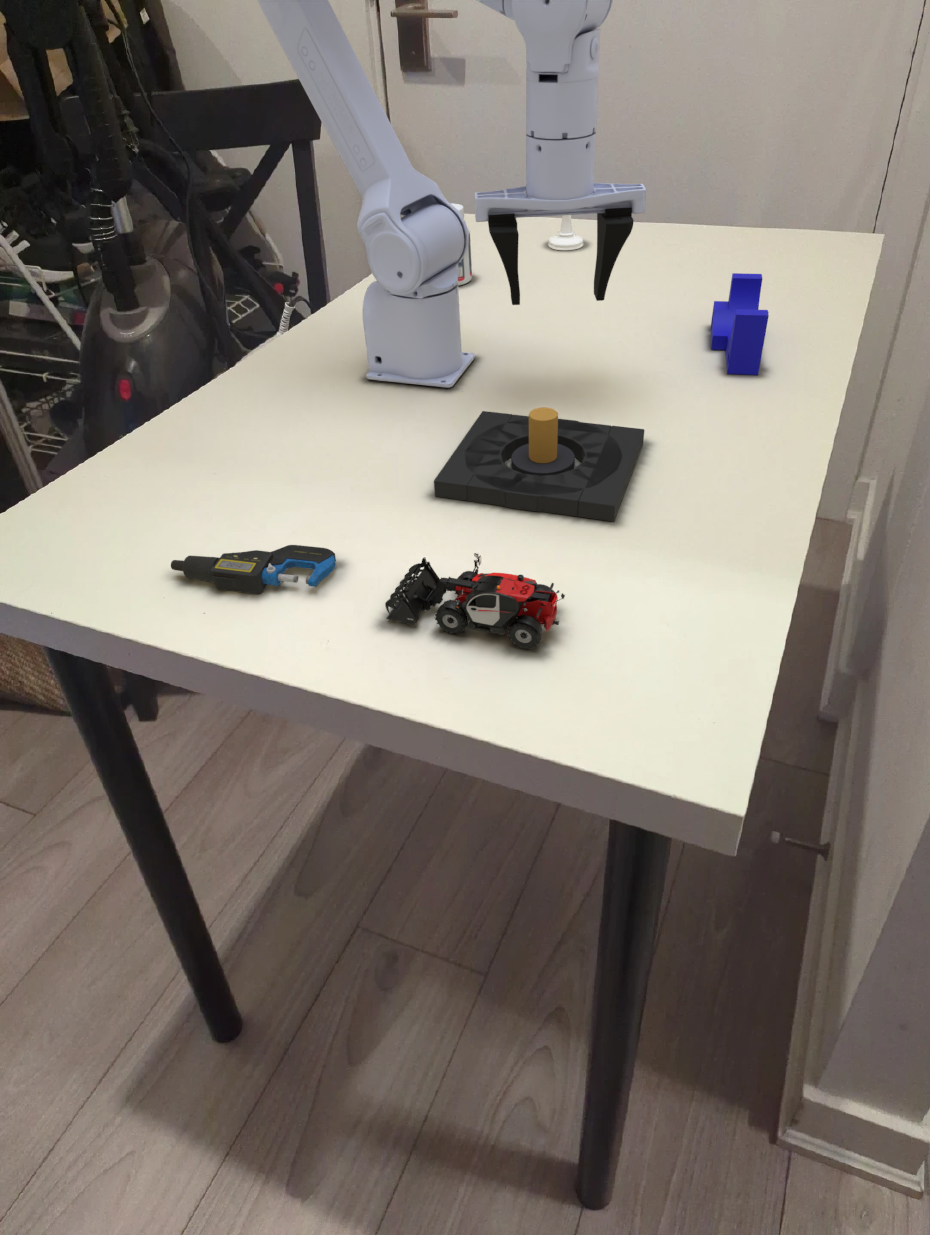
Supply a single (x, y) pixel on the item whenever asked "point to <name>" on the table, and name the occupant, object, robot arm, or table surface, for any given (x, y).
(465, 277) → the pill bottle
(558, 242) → the chess piece
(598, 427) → the socket pad
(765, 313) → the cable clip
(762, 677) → the table surface
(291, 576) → the micrometer
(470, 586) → the loader
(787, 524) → the table surface
